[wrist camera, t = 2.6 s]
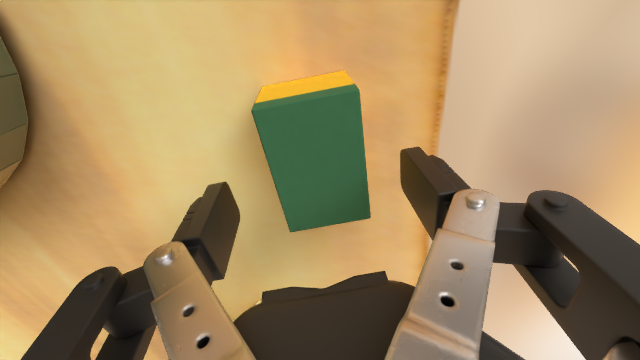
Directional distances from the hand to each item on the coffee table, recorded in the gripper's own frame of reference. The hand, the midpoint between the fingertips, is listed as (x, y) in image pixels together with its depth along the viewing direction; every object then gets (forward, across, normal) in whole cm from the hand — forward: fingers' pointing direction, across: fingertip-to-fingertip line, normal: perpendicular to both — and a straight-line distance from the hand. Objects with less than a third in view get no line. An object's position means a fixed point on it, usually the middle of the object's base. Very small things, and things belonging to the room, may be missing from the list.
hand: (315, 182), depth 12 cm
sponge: (+4, 0, 0) cm, 5 cm away
